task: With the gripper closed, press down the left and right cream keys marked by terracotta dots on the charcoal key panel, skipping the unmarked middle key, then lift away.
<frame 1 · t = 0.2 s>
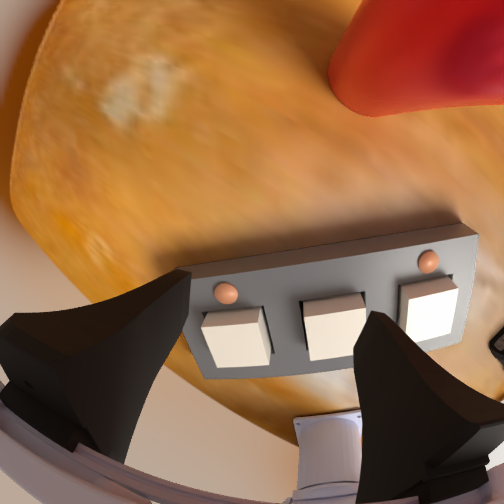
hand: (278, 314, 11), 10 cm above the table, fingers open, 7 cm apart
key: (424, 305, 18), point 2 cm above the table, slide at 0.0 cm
key panel: (331, 303, 21), on the table
key middle: (334, 322, 19), point 2 cm above the table, slide at 0.0 cm
bottle: (367, 78, 15), on the table
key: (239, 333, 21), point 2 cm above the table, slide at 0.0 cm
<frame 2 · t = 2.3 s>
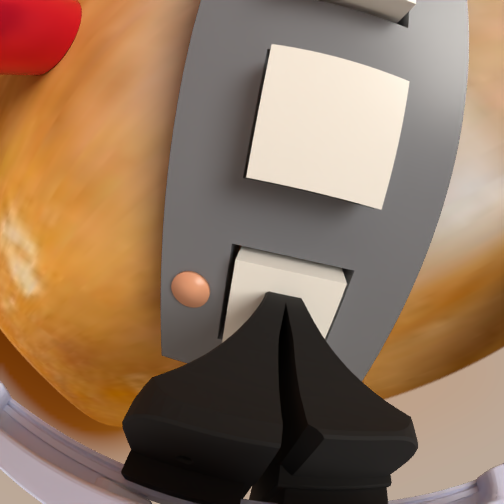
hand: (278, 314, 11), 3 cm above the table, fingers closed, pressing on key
key panel: (318, 128, 11), on the table
key middle: (325, 125, 8), point 2 cm above the table, slide at 0.0 cm
bottle: (52, 35, 10), on the table
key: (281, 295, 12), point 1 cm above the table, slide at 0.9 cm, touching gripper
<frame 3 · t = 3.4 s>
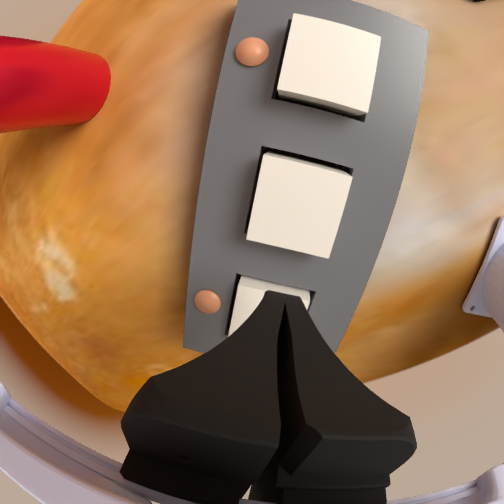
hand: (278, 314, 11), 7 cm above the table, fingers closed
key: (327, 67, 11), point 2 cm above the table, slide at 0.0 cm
key panel: (296, 191, 16), on the table
key middle: (297, 200, 14), point 2 cm above the table, slide at 0.0 cm
bottle: (83, 88, 15), on the table
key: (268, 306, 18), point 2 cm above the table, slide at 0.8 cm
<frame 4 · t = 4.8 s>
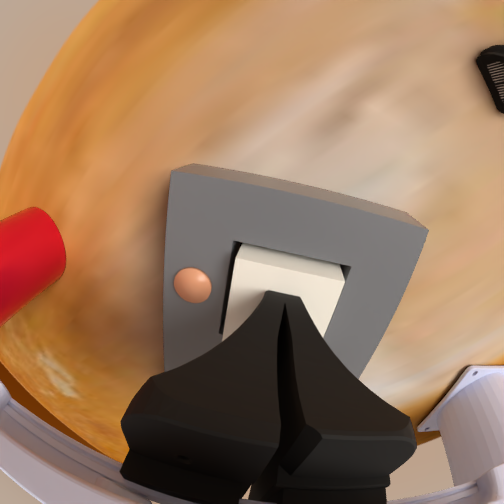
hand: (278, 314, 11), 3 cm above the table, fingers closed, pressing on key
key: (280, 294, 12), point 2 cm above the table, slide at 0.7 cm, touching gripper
key panel: (255, 372, 17), on the table
bottle: (42, 243, 16), on the table
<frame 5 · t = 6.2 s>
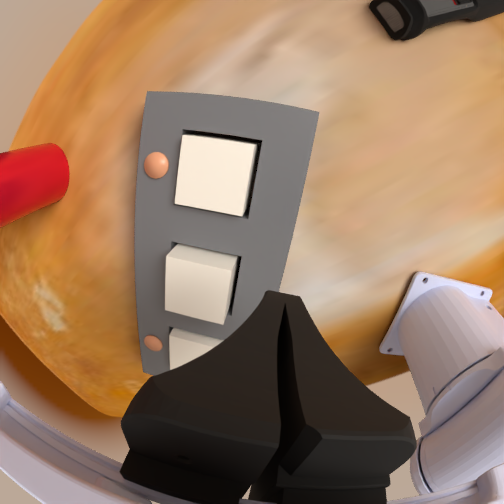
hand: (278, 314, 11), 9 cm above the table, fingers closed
electric trimmer: (446, 5, 11), on the table
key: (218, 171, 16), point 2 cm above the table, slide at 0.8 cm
key panel: (211, 264, 21), on the table
key middle: (202, 279, 19), point 2 cm above the table, slide at 0.0 cm
bottle: (51, 172, 20), on the table
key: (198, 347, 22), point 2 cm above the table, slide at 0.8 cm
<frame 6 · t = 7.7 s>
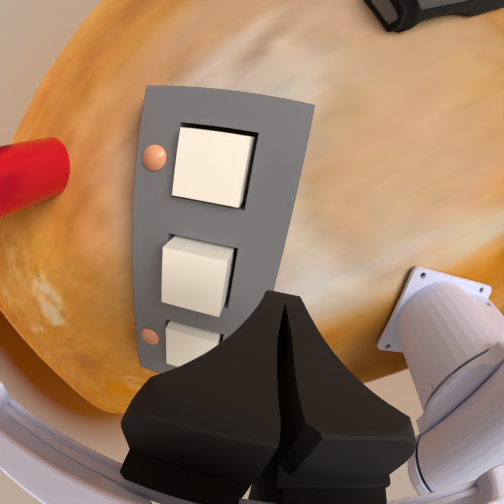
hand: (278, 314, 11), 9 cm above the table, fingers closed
electric trimmer: (442, 0, 11), on the table
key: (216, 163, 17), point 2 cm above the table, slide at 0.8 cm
key panel: (208, 257, 21), on the table
key middle: (199, 271, 19), point 2 cm above the table, slide at 0.0 cm
bottle: (51, 166, 20), on the table
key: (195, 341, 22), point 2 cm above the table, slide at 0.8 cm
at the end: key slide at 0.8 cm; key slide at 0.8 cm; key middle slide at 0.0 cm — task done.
